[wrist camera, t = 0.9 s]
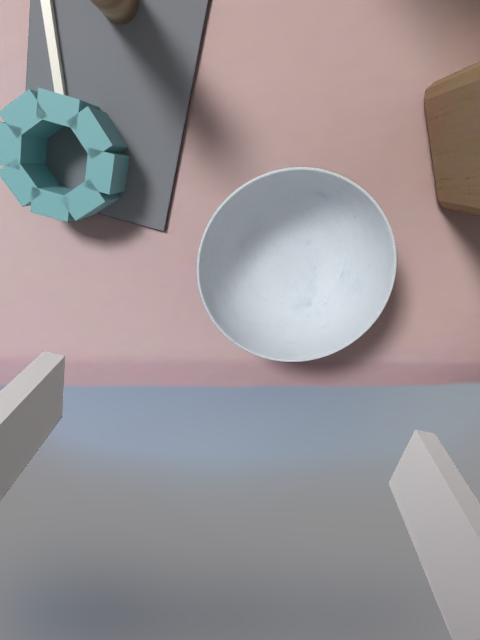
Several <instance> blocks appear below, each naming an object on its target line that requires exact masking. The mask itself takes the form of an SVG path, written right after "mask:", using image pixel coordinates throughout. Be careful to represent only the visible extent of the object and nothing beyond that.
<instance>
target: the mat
mask: <svg viewBox="0 0 480 640" xmlns="http://www.w3.org/2000/svg"><path fill="white" fill-rule="evenodd" d="M208 2H209V0H139V5H138V10H137V13H136V15H135V17H134V18H133V19H132V20H131V21H130V22H128V23H125V24H116V23H114V22H112V21H110V20H109V19H108V18H107V17H106V16H105V15H104V14H103V13H102V12H101V11H100V10H99V9H98V8H97V7H96V6H95V5H94V4H93V3H92V2H91V1H90V0H53V7H54V14H55V21H56V28H57V35H58V42H59V49H60V55H61V62H62V69H63V76H64V83H65V90H66V96H69V97H72V98H76V99H79V100H82V101H85V102H87V103H90V104H92V105H95V106H98V107H99V110H100V111H103V112H106V113H107V114H108V116H109V118H110V119H111V121H112V122H113V124H114V126H115V127H116V129H117V130H118V132H119V134H120V135H121V137H122V138H123V140H124V142H125V143H126V145H127V146H128V148H126V149H125V150H123V151H122V152H120V153H122V154H125V155H129V156H130V158H129V165H128V172H127V178H126V185H125V191H124V192H119V193H118V194H119V196H120V197H121V198H119V199H118V200H116V201H115V202H113V203H112V204H110V205H109V206H107V207H106V208H104V209H103V210H101V211H99V212H98V213H99V214H102V215H106V216H110V217H113V218H117V219H121V220H124V221H128V222H132V223H136V224H139V225H143V226H147V227H150V228H154V229H158V230H161V231H164V230H165V225H166V220H167V215H168V210H169V205H170V199H171V194H172V189H173V184H174V179H175V173H176V168H177V163H178V158H179V153H180V147H181V142H182V137H183V132H184V127H185V121H186V116H187V111H188V106H189V101H190V95H191V90H192V85H193V80H194V75H195V69H196V64H197V59H198V54H199V49H200V43H201V38H202V33H203V28H204V22H205V17H206V12H207V7H208ZM38 88H42V89H45V90H49V91H52V92H54V85H53V79H52V72H51V66H50V59H49V53H48V46H47V40H46V33H45V27H44V20H43V14H42V8H41V1H40V0H30V16H29V36H28V55H27V74H26V91H27V90H28V89H31V90H34V91H37V92H38ZM87 156H88V153H87V152H86V150H85V149H84V147H83V146H82V144H81V143H80V141H79V140H78V138H77V137H76V135H75V134H74V132H73V130H72V129H71V127H67V126H64V127H62V128H61V129H60V130H58V131H57V132H55V133H54V134H53V135H51V136H50V137H49V138H47V150H46V165H47V167H48V168H49V170H50V171H51V172H52V174H53V175H54V177H55V178H56V179H57V181H58V182H59V184H60V185H61V186H64V187H67V188H71V189H74V188H76V187H77V186H79V185H80V184H82V183H83V182H85V175H86V165H87Z"/></svg>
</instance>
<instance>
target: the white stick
mask: <svg viewBox="0 0 480 640" xmlns="http://www.w3.org/2000/svg"><path fill="white" fill-rule="evenodd" d="M40 1H41V8H42V14H43V20H44V27H45V33H46V40H47V46H48V53H49V59H50V66H51V72H52V79H53V85H54V92H55V93H59V94H62V95H66V90H65V83H64V76H63V69H62V62H61V55H60V49H59V42H58V35H57V28H56V21H55V14H54V7H53V0H40Z"/></svg>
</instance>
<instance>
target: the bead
mask: <svg viewBox="0 0 480 640" xmlns="http://www.w3.org/2000/svg"><path fill="white" fill-rule="evenodd" d="M0 115H1V117H2V118H3V120H4V121H5V122H0V165H4V167H3V168H1V169H0V177H1V178H2V180H3V181H4V182H5V184H6V185H7V186H8V188H9V189H10V190H11V192H12V193H13V194H14V196H15V197H16V198H17V200H18V201H19V202H20V204H21V205H22V206H23V207H24V206H29V205H31V210H30V212H32V213H36V214H40V215H43V216H47V217H51V218H55V219H58V220H62V221H66V222H69V221H72V220H75V221H77V220H80V219H83V218H86V217H89V216H92V215H95V214H96V213H98V212H99V211H101V210H103V209H104V208H106V207H107V206H109V205H110V204H112V203H113V202H115V201H116V200H118V199H119V198H121V197H120V196H119V194H118V193H119V192H124V191H125V185H126V178H127V172H128V165H129V158H130V156H129V155H125V154H122V153H120V152H122V151H123V150H125V149H126V148H128V146H127V145H126V143H125V142H124V140H123V138H122V137H121V135H120V134H119V132H118V130H117V129H116V127H115V126H114V124H113V122H112V121H111V119H110V118H109V116H108V114H107V113H106V112H103V111H100V110H99V107H98V106H95V105H92V104H90V103H87V102H85V101H82V100H79V99H76V98H72V97H69V96H66V95H62V94H59V93H55V92H52V91H49V90H45V89H42V88H38V92H37V91H34V90H31V89H28V90H27V91H26V92H24V93H23V94H22V95H21V96H19V97H18V98H17V99H15V100H14V101H13V102H11V103H10V104H9V105H7V106H6V107H5V108H4V109H2V110H1V111H0ZM64 126H67V127H71V129H72V130H73V132H74V134H75V135H76V137H77V138H78V140H79V141H80V143H81V144H82V146H83V147H84V149H85V150H86V152H87V153H88V156H87V165H86V175H85V182H83V183H82V184H80V185H79V186H77V187H76V188H74V189H71V188H67V187H64V186H61V185H60V184H59V182H58V181H57V179H56V178H55V177H54V175H53V174H52V172H51V171H50V170H49V168H48V167H47V165H46V150H47V138H49V137H50V136H51V135H53V134H54V133H55V132H57V131H58V130H60V129H61V128H62V127H64Z"/></svg>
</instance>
